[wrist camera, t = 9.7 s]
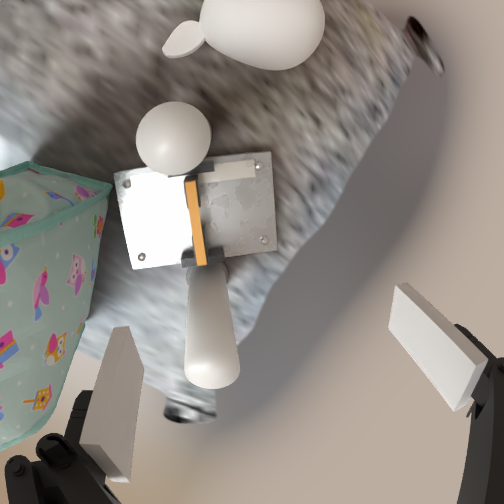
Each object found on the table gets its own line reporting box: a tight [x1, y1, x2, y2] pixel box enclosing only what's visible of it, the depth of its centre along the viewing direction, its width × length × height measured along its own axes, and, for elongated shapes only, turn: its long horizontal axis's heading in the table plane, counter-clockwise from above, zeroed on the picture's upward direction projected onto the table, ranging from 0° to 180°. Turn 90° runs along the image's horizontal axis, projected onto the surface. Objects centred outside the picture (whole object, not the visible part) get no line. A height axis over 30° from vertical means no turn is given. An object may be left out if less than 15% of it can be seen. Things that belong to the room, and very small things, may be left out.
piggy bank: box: [162, 0, 325, 71], centre depth 26 cm, size 12×12×15 cm
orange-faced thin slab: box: [183, 175, 209, 266], centre depth 33 cm, size 1×9×4 cm, turn 5°
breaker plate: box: [113, 151, 277, 269], centre depth 36 cm, size 18×12×4 cm, turn 95°
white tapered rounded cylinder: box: [185, 262, 240, 389], centre depth 33 cm, size 5×5×18 cm
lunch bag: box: [0, 161, 113, 451], centre depth 24 cm, size 23×16×27 cm
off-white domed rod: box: [136, 101, 212, 175], centre depth 26 cm, size 5×5×18 cm
